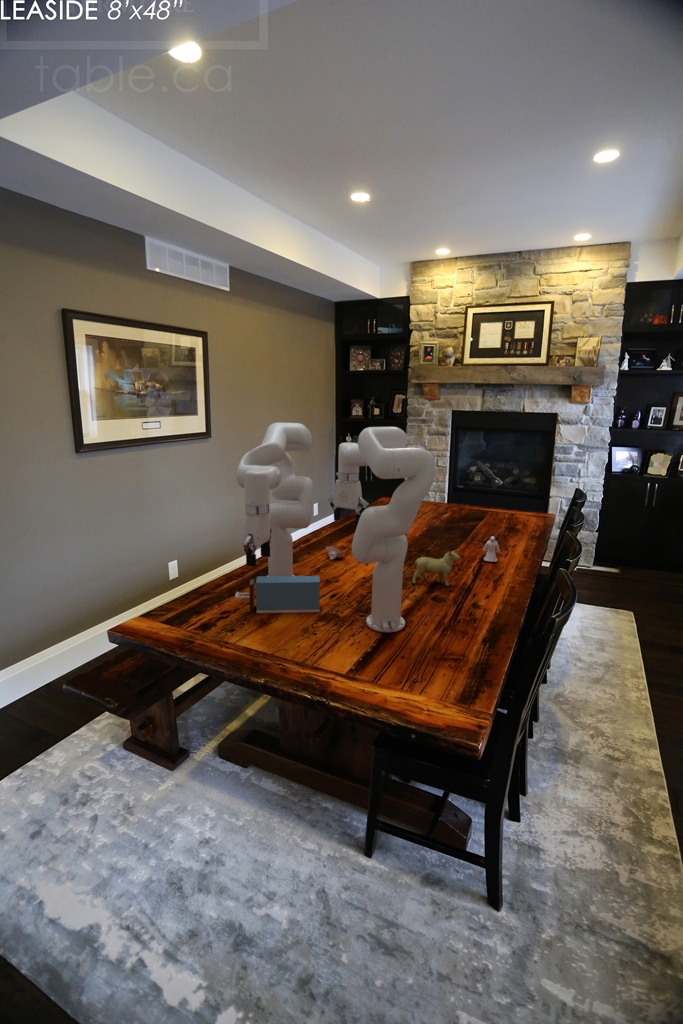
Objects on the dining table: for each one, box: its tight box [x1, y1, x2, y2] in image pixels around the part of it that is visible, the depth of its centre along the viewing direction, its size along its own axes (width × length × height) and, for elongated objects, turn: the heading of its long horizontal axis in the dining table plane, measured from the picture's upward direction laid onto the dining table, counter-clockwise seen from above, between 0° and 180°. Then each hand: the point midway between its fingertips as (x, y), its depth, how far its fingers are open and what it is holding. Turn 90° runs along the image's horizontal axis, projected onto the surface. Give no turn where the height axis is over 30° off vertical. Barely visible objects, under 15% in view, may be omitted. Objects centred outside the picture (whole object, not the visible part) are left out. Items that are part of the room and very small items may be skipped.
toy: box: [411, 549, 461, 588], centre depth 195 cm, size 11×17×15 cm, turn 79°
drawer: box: [234, 579, 256, 611], centre depth 171 cm, size 25×4×9 cm, turn 94°
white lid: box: [325, 545, 343, 561], centre depth 222 cm, size 8×5×8 cm
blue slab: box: [255, 575, 321, 614], centre depth 171 cm, size 21×6×11 cm, turn 94°
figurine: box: [482, 535, 501, 563], centre depth 223 cm, size 8×8×12 cm
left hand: (258, 561), depth 160 cm, fingers open, 9 cm apart
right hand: (347, 522), depth 186 cm, fingers open, 9 cm apart
